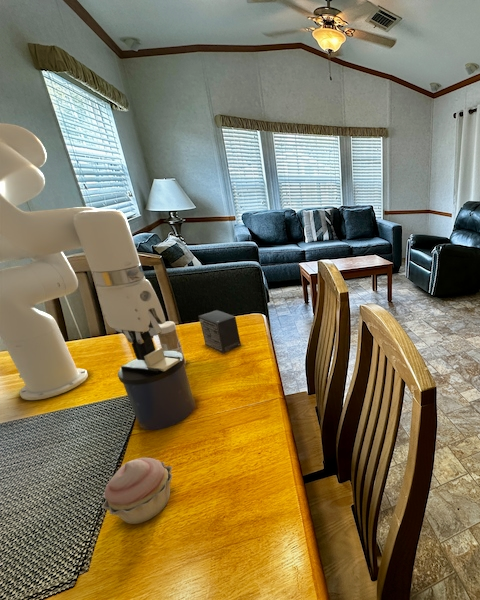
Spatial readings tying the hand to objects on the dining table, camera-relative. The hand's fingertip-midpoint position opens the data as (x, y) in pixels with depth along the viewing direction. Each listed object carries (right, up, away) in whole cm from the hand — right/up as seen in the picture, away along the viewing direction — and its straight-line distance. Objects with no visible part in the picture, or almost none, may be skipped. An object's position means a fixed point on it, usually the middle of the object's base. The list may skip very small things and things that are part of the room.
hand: (147, 356), depth 70 cm
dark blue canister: (+1, -14, +6) cm, 15 cm away
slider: (+4, -2, 0) cm, 4 cm away
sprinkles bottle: (-10, -7, +24) cm, 27 cm away
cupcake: (+12, -23, -16) cm, 30 cm away
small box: (-2, -3, +35) cm, 35 cm away
